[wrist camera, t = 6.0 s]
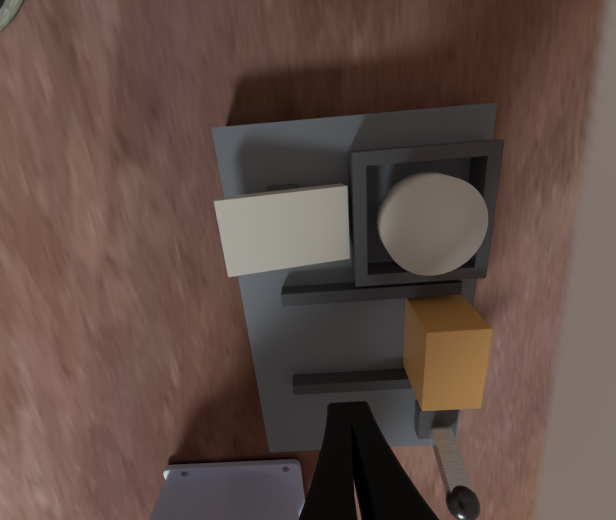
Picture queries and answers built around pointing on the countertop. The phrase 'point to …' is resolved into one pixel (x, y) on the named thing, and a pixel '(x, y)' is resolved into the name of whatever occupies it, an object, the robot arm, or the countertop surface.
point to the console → (352, 264)
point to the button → (432, 222)
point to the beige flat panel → (283, 228)
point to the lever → (454, 476)
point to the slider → (445, 352)
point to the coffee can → (8, 11)
